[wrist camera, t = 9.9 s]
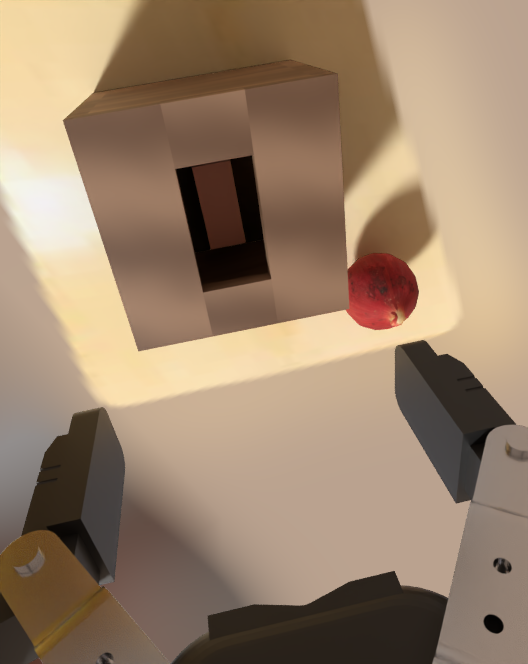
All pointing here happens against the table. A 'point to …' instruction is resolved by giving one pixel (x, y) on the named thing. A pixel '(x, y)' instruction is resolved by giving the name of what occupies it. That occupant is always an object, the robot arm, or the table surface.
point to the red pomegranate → (381, 291)
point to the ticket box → (169, 212)
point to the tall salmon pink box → (219, 203)
